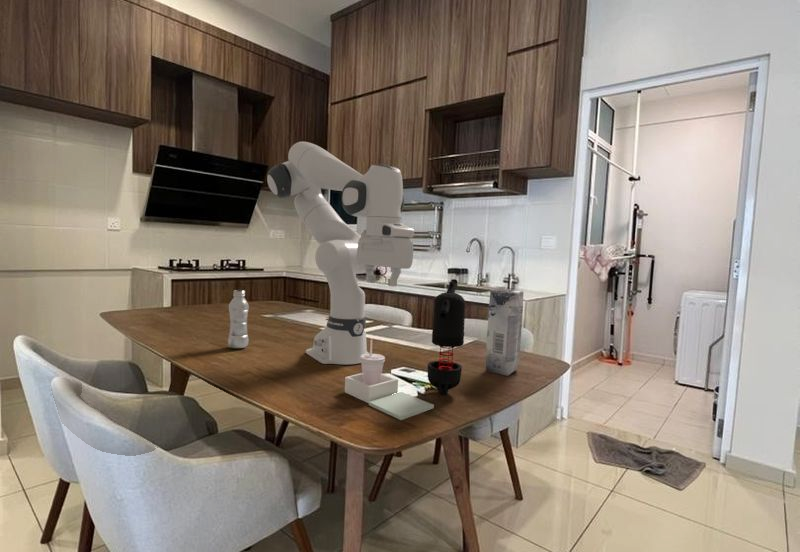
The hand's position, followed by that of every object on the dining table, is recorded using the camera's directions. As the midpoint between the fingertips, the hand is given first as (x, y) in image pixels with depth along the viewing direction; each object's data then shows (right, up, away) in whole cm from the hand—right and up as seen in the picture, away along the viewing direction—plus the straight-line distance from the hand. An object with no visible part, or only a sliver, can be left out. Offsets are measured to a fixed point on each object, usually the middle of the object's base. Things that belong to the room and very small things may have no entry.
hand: (381, 284), depth 107 cm
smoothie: (-3, -28, +1) cm, 28 cm away
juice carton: (+37, -28, +27) cm, 54 cm away
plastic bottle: (-51, -23, +39) cm, 68 cm away
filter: (+16, -29, +3) cm, 33 cm away
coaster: (+5, -29, -7) cm, 30 cm away
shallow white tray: (-3, -28, +1) cm, 28 cm away
